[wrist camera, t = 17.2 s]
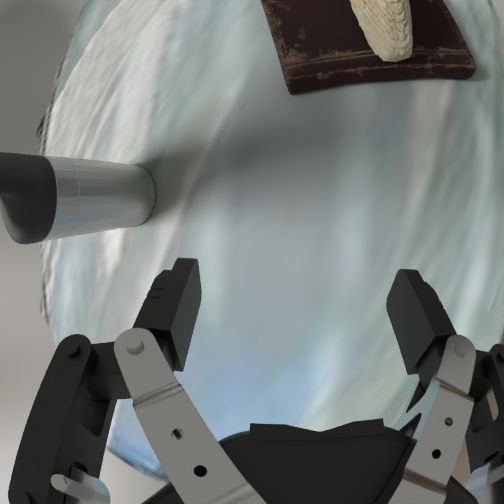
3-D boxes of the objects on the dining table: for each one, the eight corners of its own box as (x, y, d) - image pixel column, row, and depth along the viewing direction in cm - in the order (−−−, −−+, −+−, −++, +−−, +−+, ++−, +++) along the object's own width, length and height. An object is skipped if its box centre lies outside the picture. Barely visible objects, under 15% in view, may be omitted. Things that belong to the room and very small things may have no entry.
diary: (466, 84, 25) (480, 71, 20) (292, 100, 32) (286, 85, 27) (416, -13, 22) (421, -31, 17) (263, 1, 30) (254, -18, 25)
